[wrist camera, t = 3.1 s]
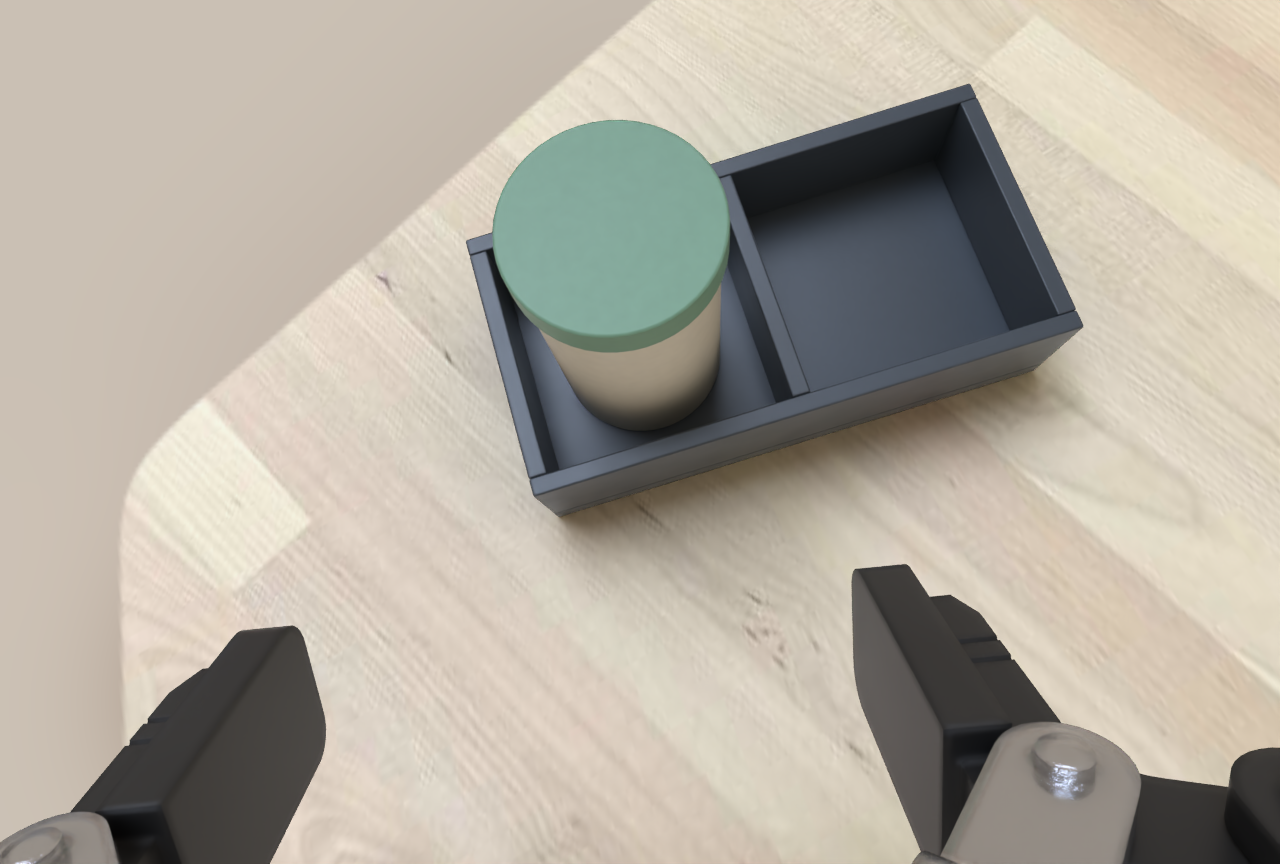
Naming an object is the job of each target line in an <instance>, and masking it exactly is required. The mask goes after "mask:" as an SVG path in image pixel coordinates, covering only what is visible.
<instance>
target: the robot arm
mask: <svg viewBox="0 0 1280 864" xmlns="http://www.w3.org/2000/svg"><path fill="white" fill-rule="evenodd" d="M852 620H853V659H854V673H855V680H856V686H857V691H858V696H859V699H860V703H861V706H862V709H863V711H864V714H865V716H866V719H867V721H868V724H869V726H870V728H871V731H872V733H873V736H874V738H875V741H876V743H877V745H878V748H879V750H880V753H881V755H882V758H883V760H884V762H885V765H886V767H887V770H888V772H889V775H890V777H891V779H892V782H893V784H894V787H895V789H896V792H897V794H898V797H899V799H900V801H901V804H902V806H903V809H904V811H905V814H906V816H907V818H908V821H909V823H910V826H911V828H912V831H913V833H914V835H915V838H916V840H917V843H918V845H919V848H920V850H921V852H920V853H919V854H918V855H917V857H916V858H915V860H914V861H913V863H912V864H1280V748H1264V749H1258V750H1254V751H1250V752H1248V753H1246V754H1244V755H1242V756H1240V757H1239V758H1238V759H1237V760H1236V761H1235V762H1234V764H1233V766H1232V768H1231V773H1230V780H1229V787H1223V786H1216V785H1208V784H1201V783H1194V782H1186V781H1179V780H1171V779H1164V778H1158V777H1152V776H1147V775H1143V774H1140V773H1139V771H1138V769H1137V767H1136V765H1135V764H1134V762H1133V761H1132V760H1131V758H1130V757H1129V756H1128V755H1127V754H1126V753H1125V752H1124V751H1123V750H1122V749H1121V748H1119V747H1118V746H1117V745H1115V744H1114V743H1112V742H1111V741H1109V740H1107V739H1106V738H1104V737H1102V736H1100V735H1098V734H1096V733H1094V732H1091V731H1089V730H1086V729H1083V728H1080V727H1077V726H1072V725H1068V724H1063V723H1061V722H1060V720H1059V719H1058V718H1057V716H1056V715H1055V714H1054V712H1053V711H1052V710H1051V708H1050V707H1049V706H1048V704H1047V703H1046V702H1045V700H1044V699H1043V698H1042V696H1041V695H1040V694H1039V692H1038V691H1037V689H1036V688H1035V687H1034V685H1033V684H1032V683H1031V681H1030V680H1029V679H1028V677H1027V676H1026V675H1025V673H1024V672H1023V671H1022V669H1021V668H1020V667H1019V665H1018V664H1017V663H1016V661H1015V660H1012V659H1011V654H1010V653H1009V652H1008V650H1007V649H1006V648H1005V646H1004V645H1003V644H1002V642H1001V641H1000V640H997V636H996V634H995V633H994V632H993V630H992V629H991V627H990V626H989V625H988V623H987V622H986V621H985V619H984V618H983V617H982V615H981V614H980V613H979V612H977V611H976V610H974V609H972V608H971V607H969V606H968V605H966V604H964V603H963V602H961V601H959V600H958V599H956V598H955V597H953V596H951V595H944V596H934V597H929V596H928V594H927V593H926V591H925V589H924V588H923V586H922V585H921V583H920V582H919V580H918V579H917V577H916V576H915V574H914V573H913V571H912V570H911V568H910V567H909V566H908V565H906V564H902V565H892V566H882V567H872V568H862V569H855V570H854V571H853V574H852ZM325 740H326V723H325V716H324V712H323V708H322V704H321V701H320V697H319V693H318V689H317V686H316V682H315V678H314V674H313V671H312V667H311V663H310V659H309V656H308V652H307V648H306V645H305V641H304V638H303V636H302V633H301V632H300V630H299V629H298V628H297V627H295V626H283V627H273V628H263V629H252V630H243V631H240V632H238V633H237V634H236V635H235V636H234V637H233V638H232V639H231V641H230V642H229V643H228V644H227V646H226V647H225V648H224V649H223V651H222V652H221V653H220V654H219V656H218V657H217V658H216V659H215V661H214V662H213V663H212V664H211V666H210V667H209V668H207V669H202V670H200V671H199V672H197V673H196V674H195V675H193V676H192V677H191V678H189V679H188V680H186V681H185V682H184V683H182V684H181V685H179V686H178V687H177V688H175V689H174V690H173V691H171V692H170V693H169V694H168V695H167V696H166V697H165V699H164V700H163V701H162V702H161V703H160V705H159V706H158V707H157V708H156V709H155V711H154V712H153V713H152V714H151V715H150V717H149V718H148V723H147V724H143V725H142V726H141V727H140V729H139V730H138V731H137V732H136V733H135V735H134V736H133V737H132V738H131V740H130V745H129V746H125V747H124V748H123V749H122V750H121V752H120V753H119V754H118V755H117V756H116V758H115V759H114V760H113V761H112V762H111V764H110V765H109V766H108V767H107V768H106V770H105V771H104V772H103V773H102V774H101V776H100V777H99V778H98V779H97V781H96V782H95V783H94V784H93V785H92V786H91V788H90V789H89V790H88V791H87V793H86V794H85V795H84V796H83V797H82V799H81V800H80V801H79V802H78V803H77V805H76V806H75V807H74V808H73V810H72V811H71V812H70V813H66V814H61V815H57V816H54V817H51V818H47V819H44V820H42V821H39V822H37V823H35V824H32V825H30V826H28V827H26V828H24V829H22V830H20V831H18V832H16V833H15V834H13V835H11V836H9V837H8V838H6V839H5V840H3V841H2V842H0V864H270V862H271V860H272V858H273V856H274V854H275V852H276V850H277V848H278V846H279V844H280V842H281V840H282V838H283V836H284V834H285V832H286V830H287V828H288V826H289V824H290V822H291V820H292V818H293V816H294V814H295V812H296V810H297V808H298V806H299V804H300V802H301V800H302V798H303V796H304V794H305V792H306V790H307V788H308V786H309V784H310V782H311V780H312V778H313V776H314V774H315V772H316V770H317V767H318V765H319V763H320V761H321V759H322V756H323V752H324V747H325Z"/></svg>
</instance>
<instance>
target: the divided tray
mask: <svg viewBox="0 0 1280 864" xmlns="http://www.w3.org/2000/svg"><path fill="white" fill-rule="evenodd" d="M710 165H711V166H712V168H713V169H714V171H715V172H716V174H717V176H718V177H719V179H720V182H721V184H722V186H723V188H724V191H725V194H726V198H727V201H728V206H729V213H730V245H729V256H728V262H727V267H726V270H725V273H724V276H723V279H722V281H721V312H720V362H719V369H718V373H717V377H716V380H715V382H714V384H713V387H712V389H711V391H710V392H709V394H708V395H707V397H706V398H705V400H704V401H703V402H702V403H701V404H700V406H699V407H698V408H696V409H695V410H694V411H693V412H692V413H691V414H689V415H688V416H687V417H685V418H684V419H682V420H680V421H678V422H676V423H674V424H672V425H669V426H667V427H663V428H659V429H655V430H647V431H634V430H627V429H622V428H618V427H615V426H612V425H610V424H608V423H605V422H603V421H602V420H600V419H598V418H597V417H595V416H594V415H593V414H592V413H590V412H589V411H588V410H587V409H586V408H585V407H584V406H583V405H582V404H581V402H580V401H579V399H578V398H577V397H576V395H575V393H574V391H573V390H572V388H571V386H570V384H569V382H568V380H567V379H566V377H565V375H564V373H563V371H562V370H561V368H560V366H559V364H558V362H557V360H556V359H555V357H554V355H553V353H552V351H551V350H550V348H549V346H548V344H547V342H546V340H545V339H544V337H543V335H542V333H541V331H540V330H539V328H538V327H536V326H535V325H534V324H533V323H532V322H531V321H530V320H529V319H528V318H527V317H526V316H525V315H524V313H523V312H522V311H521V309H520V308H519V306H518V305H517V304H516V302H515V300H514V299H513V297H512V295H511V293H510V292H509V290H508V288H507V286H506V284H505V283H504V281H503V279H502V277H501V275H500V272H499V269H498V266H497V264H496V260H495V255H494V250H493V238H492V233H489V234H486V235H482V236H479V237H476V238H473V239H470V240H467V241H466V244H467V248H468V252H469V255H470V259H471V263H472V267H473V270H474V274H475V278H476V282H477V285H478V289H479V293H480V297H481V301H482V304H483V308H484V312H485V316H486V319H487V323H488V327H489V331H490V334H491V338H492V342H493V346H494V349H495V353H496V357H497V361H498V364H499V368H500V372H501V376H502V380H503V383H504V387H505V391H506V395H507V398H508V402H509V406H510V410H511V413H512V417H513V421H514V425H515V428H516V432H517V436H518V440H519V443H520V447H521V451H522V455H523V459H524V462H525V466H526V470H527V474H528V477H529V479H530V485H531V488H532V492H533V495H534V497H536V498H537V499H538V500H539V501H540V502H542V503H543V504H544V505H545V506H546V507H547V508H549V509H550V510H551V511H552V512H553V513H555V514H556V515H557V516H558V517H560V516H563V515H567V514H570V513H573V512H576V511H580V510H583V509H586V508H589V507H592V506H596V505H599V504H602V503H605V502H609V501H612V500H615V499H618V498H622V497H625V496H628V495H631V494H635V493H638V492H641V491H644V490H648V489H651V488H654V487H657V486H661V485H664V484H667V483H670V482H674V481H677V480H680V479H683V478H686V477H690V476H693V475H696V474H699V473H703V472H706V471H709V470H712V469H716V468H719V467H722V466H725V465H729V464H732V463H735V462H738V461H742V460H745V459H748V458H751V457H755V456H758V455H761V454H764V453H768V452H771V451H774V450H777V449H780V448H784V447H787V446H790V445H793V444H797V443H800V442H803V441H806V440H810V439H813V438H816V437H819V436H823V435H826V434H829V433H832V432H836V431H839V430H842V429H845V428H849V427H852V426H855V425H858V424H862V423H865V422H868V421H871V420H874V419H878V418H881V417H884V416H887V415H891V414H894V413H897V412H900V411H904V410H907V409H910V408H913V407H917V406H920V405H923V404H926V403H930V402H933V401H936V400H939V399H943V398H946V397H949V396H952V395H956V394H959V393H962V392H965V391H968V390H972V389H975V388H978V387H981V386H985V385H988V384H991V383H994V382H998V381H1001V380H1004V379H1007V378H1011V377H1014V376H1017V375H1020V374H1024V373H1027V372H1030V371H1033V370H1034V369H1036V368H1037V367H1038V366H1039V365H1040V364H1041V363H1042V362H1044V361H1045V360H1046V359H1047V358H1048V357H1049V356H1051V355H1052V354H1053V353H1054V352H1055V351H1056V350H1057V349H1059V348H1060V347H1061V346H1062V345H1063V344H1064V343H1065V342H1067V341H1068V340H1069V339H1070V338H1071V337H1072V336H1073V335H1075V334H1076V333H1077V332H1078V331H1079V330H1080V329H1081V328H1083V324H1082V321H1081V319H1080V317H1079V315H1078V313H1077V311H1075V310H1076V308H1075V306H1074V304H1073V302H1072V299H1071V297H1070V295H1069V293H1068V291H1067V289H1066V287H1065V285H1064V282H1063V280H1062V278H1061V276H1060V274H1059V272H1058V270H1057V267H1056V265H1055V263H1054V261H1053V259H1052V257H1051V255H1050V253H1049V250H1048V248H1047V246H1046V244H1045V242H1044V240H1043V238H1042V236H1041V233H1040V231H1039V229H1038V227H1037V225H1036V223H1035V221H1034V218H1033V216H1032V214H1031V212H1030V210H1029V208H1028V206H1027V204H1026V201H1025V199H1024V197H1023V195H1022V193H1021V191H1020V189H1019V186H1018V184H1017V182H1016V180H1015V178H1014V176H1013V174H1012V172H1011V169H1010V167H1009V165H1008V163H1007V161H1006V159H1005V157H1004V155H1003V152H1002V150H1001V148H1000V146H999V144H998V142H997V140H996V137H995V135H994V133H993V131H992V129H991V127H990V125H989V123H988V120H987V118H986V116H985V114H984V112H983V110H982V108H981V105H980V103H979V101H978V99H977V98H976V95H975V93H974V91H973V89H972V87H971V85H970V84H967V85H963V86H960V87H957V88H954V89H951V90H947V91H944V92H941V93H938V94H935V95H931V96H928V97H925V98H922V99H918V100H915V101H912V102H909V103H906V104H902V105H899V106H896V107H893V108H890V109H886V110H883V111H880V112H877V113H874V114H870V115H867V116H864V117H861V118H858V119H854V120H851V121H848V122H845V123H842V124H838V125H835V126H832V127H829V128H825V129H822V130H819V131H816V132H813V133H809V134H806V135H803V136H800V137H797V138H793V139H790V140H787V141H784V142H781V143H777V144H774V145H771V146H768V147H765V148H761V149H758V150H755V151H752V152H749V153H745V154H742V155H739V156H736V157H733V158H729V159H726V160H723V161H720V162H716V163H713V164H710Z"/></svg>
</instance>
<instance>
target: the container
mask: <svg viewBox="0 0 1280 864" xmlns="http://www.w3.org/2000/svg"><path fill="white" fill-rule="evenodd" d="M492 238H493V250H494V255H495V260H496V264H497V266H498V269H499V272H500V275H501V277H502V279H503V281H504V283H505V284H506V286H507V288H508V290H509V292H510V293H511V295H512V297H513V299H514V300H515V302H516V304H517V305H518V306H519V308H520V309H521V311H522V312H523V313H524V315H525V316H526V317H527V318H528V319H529V320H530V321H531V322H532V323H533V324H534V325H535V326H536V327H538V328H539V330H540V331H541V333H542V335H543V337H544V339H545V340H546V342H547V344H548V346H549V348H550V350H551V351H552V353H553V355H554V357H555V359H556V360H557V362H558V364H559V366H560V368H561V370H562V371H563V373H564V375H565V377H566V379H567V380H568V382H569V384H570V386H571V388H572V390H573V391H574V393H575V395H576V397H577V398H578V399H579V401H580V402H581V404H582V405H583V406H584V407H585V408H586V409H587V410H588V411H589V412H590V413H592V414H593V415H594V416H595V417H597V418H598V419H600V420H602V421H603V422H605V423H608V424H610V425H612V426H615V427H618V428H622V429H627V430H634V431H647V430H655V429H659V428H663V427H667V426H669V425H672V424H674V423H676V422H678V421H680V420H682V419H684V418H685V417H687V416H688V415H689V414H691V413H692V412H693V411H694V410H695V409H696V408H698V407H699V406H700V404H701V403H702V402H703V401H704V400H705V398H706V397H707V395H708V394H709V392H710V391H711V389H712V387H713V384H714V382H715V380H716V377H717V373H718V369H719V362H720V312H721V281H722V279H723V276H724V273H725V270H726V267H727V262H728V256H729V245H730V213H729V206H728V201H727V198H726V194H725V191H724V188H723V186H722V184H721V182H720V179H719V177H718V176H717V174H716V172H715V171H714V169H713V168H712V166H711V165H710V164H709V162H708V161H707V160H706V159H705V158H704V156H703V155H702V154H701V153H700V152H698V151H697V150H696V149H695V148H694V147H693V146H692V145H691V144H689V143H688V142H686V141H685V140H683V139H682V138H680V137H679V136H677V135H675V134H673V133H671V132H669V131H667V130H665V129H662V128H660V127H657V126H654V125H651V124H646V123H642V122H637V121H627V120H606V121H599V122H592V123H588V124H584V125H580V126H577V127H574V128H571V129H569V130H566V131H564V132H562V133H560V134H558V135H556V136H554V137H552V138H550V139H549V140H547V141H546V142H544V143H543V144H541V145H540V146H538V147H537V148H536V149H535V150H534V151H532V152H531V153H530V154H529V155H528V156H527V157H526V158H525V159H524V160H523V161H522V162H521V163H520V164H519V166H518V167H517V168H516V169H515V171H514V172H513V174H512V175H511V176H510V178H509V179H508V181H507V183H506V185H505V187H504V189H503V191H502V193H501V196H500V198H499V201H498V204H497V207H496V211H495V215H494V220H493V231H492Z"/></svg>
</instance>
